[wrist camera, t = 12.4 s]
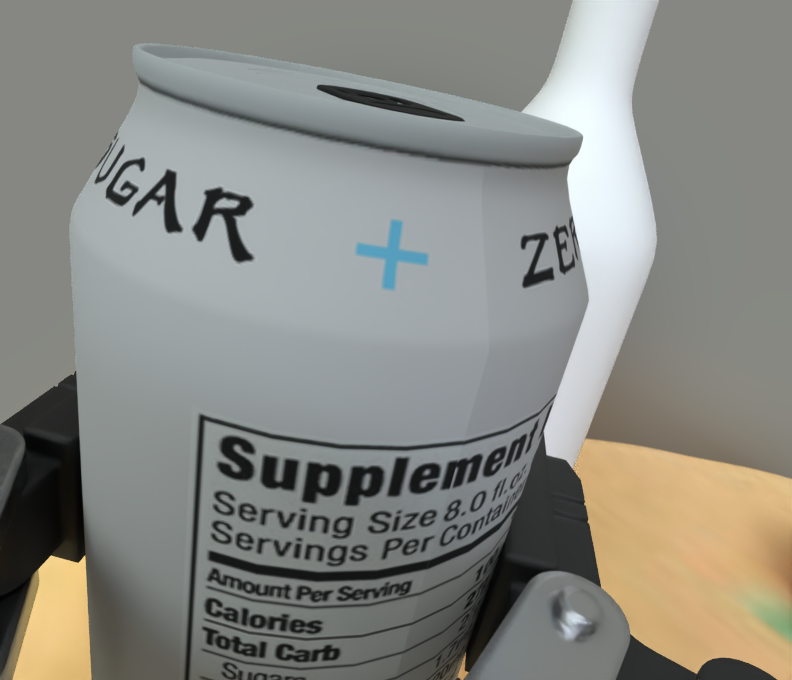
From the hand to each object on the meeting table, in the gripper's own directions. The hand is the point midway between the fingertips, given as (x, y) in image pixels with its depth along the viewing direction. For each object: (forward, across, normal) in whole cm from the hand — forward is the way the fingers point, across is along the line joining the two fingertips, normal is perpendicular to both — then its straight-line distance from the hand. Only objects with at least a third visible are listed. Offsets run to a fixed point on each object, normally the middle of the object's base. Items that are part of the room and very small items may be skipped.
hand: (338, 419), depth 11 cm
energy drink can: (-2, 0, +9) cm, 10 cm away
